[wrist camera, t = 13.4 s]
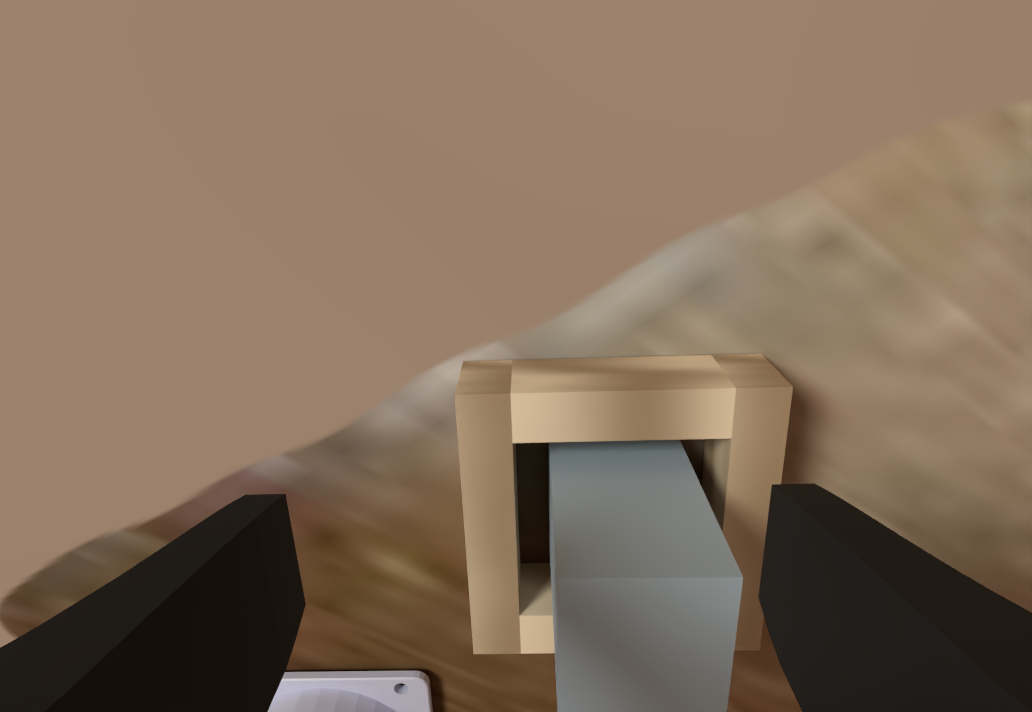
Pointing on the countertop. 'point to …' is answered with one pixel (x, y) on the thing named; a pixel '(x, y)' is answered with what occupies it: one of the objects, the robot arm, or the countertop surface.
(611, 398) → the birch well block
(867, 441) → the countertop surface
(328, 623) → the countertop surface
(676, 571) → the slate square peg
